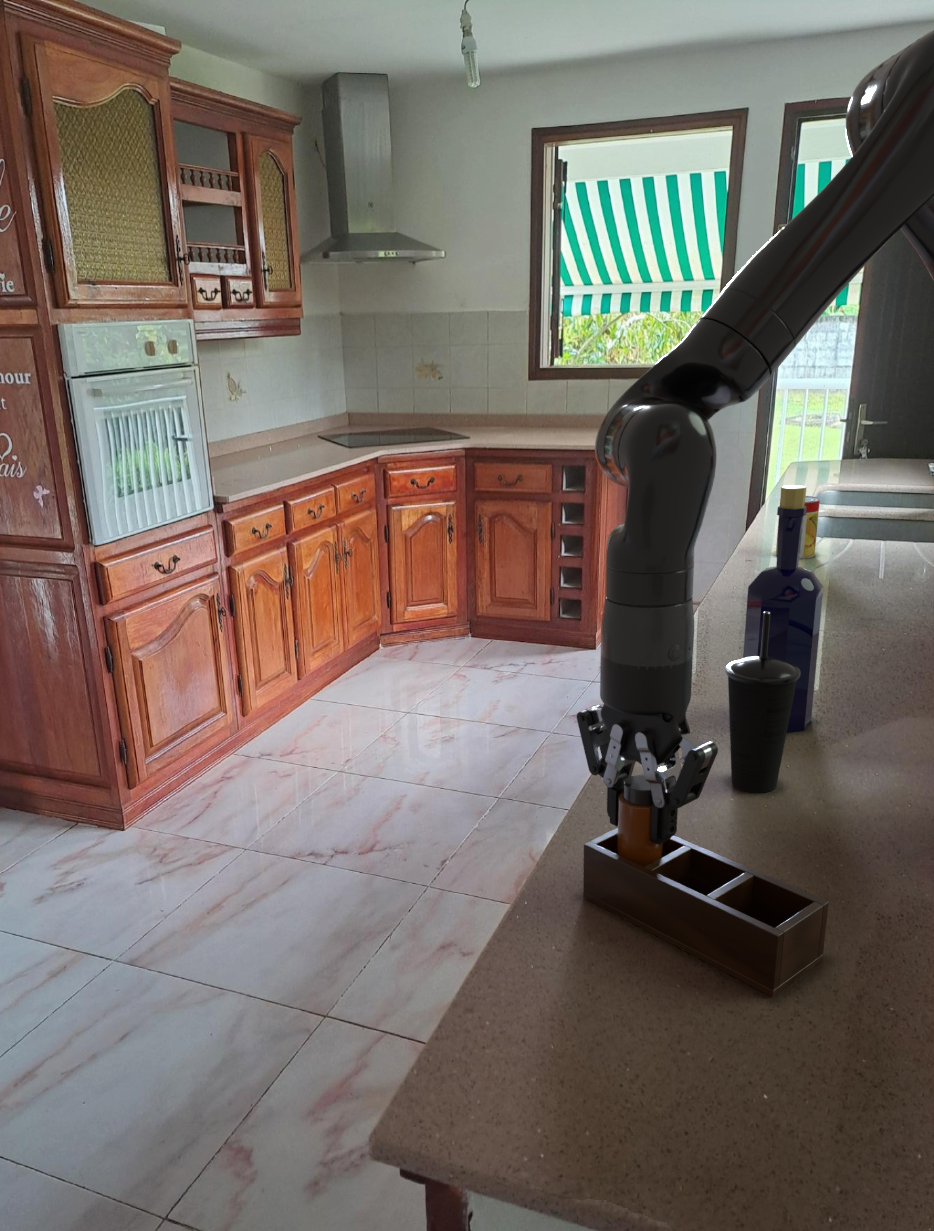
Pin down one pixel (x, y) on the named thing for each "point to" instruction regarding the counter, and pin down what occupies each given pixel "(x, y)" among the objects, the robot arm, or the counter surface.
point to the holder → (712, 910)
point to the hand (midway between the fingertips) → (640, 830)
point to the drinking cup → (759, 716)
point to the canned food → (808, 528)
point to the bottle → (788, 607)
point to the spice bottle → (636, 823)
